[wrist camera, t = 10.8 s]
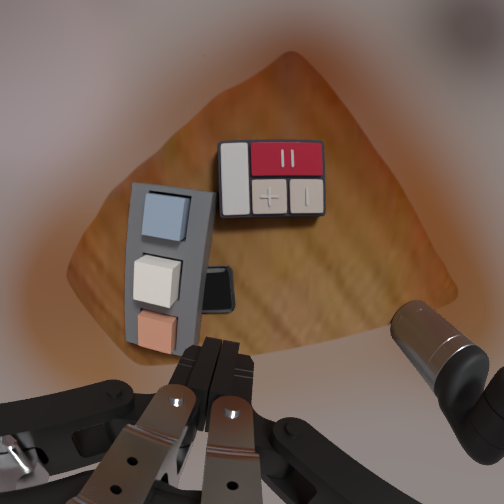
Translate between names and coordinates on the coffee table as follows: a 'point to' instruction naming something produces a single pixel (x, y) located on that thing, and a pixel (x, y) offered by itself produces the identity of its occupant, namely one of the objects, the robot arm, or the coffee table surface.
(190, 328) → the key panel
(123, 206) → the coffee table surface
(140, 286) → the white key
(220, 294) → the phone
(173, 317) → the terracotta key
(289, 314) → the coffee table surface
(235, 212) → the calculator
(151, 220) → the slate key
